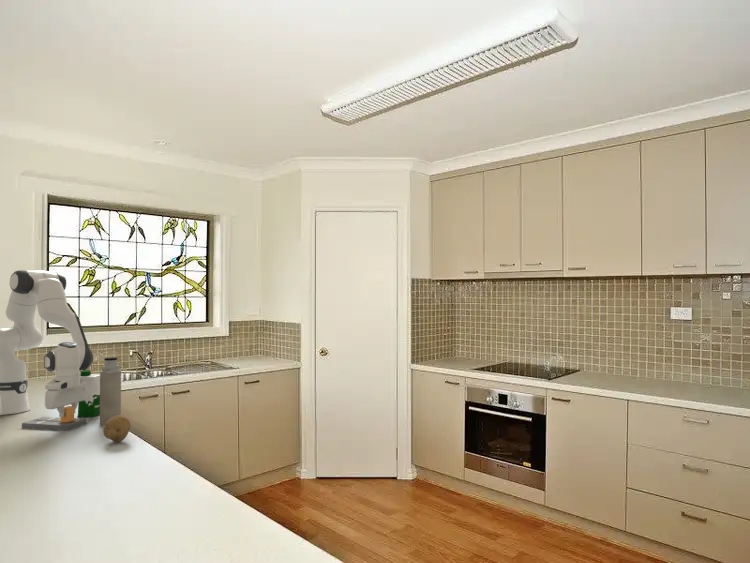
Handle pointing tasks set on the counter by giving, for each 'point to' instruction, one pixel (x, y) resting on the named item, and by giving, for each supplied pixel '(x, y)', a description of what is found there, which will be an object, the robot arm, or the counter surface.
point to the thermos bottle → (110, 390)
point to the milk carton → (90, 395)
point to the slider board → (53, 423)
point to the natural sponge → (117, 428)
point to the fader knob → (68, 414)
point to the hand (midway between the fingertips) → (67, 415)
